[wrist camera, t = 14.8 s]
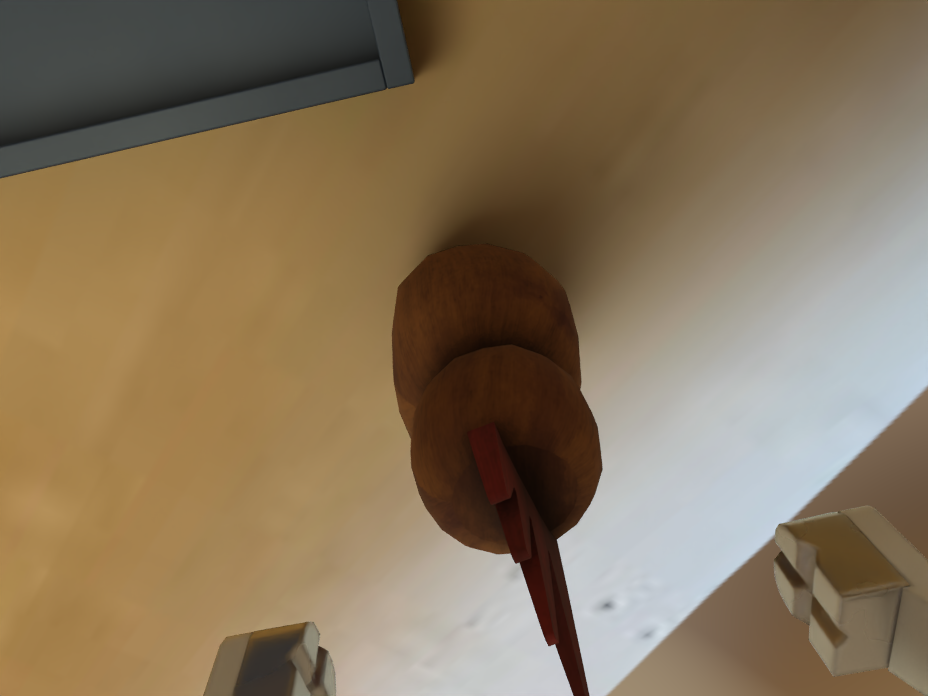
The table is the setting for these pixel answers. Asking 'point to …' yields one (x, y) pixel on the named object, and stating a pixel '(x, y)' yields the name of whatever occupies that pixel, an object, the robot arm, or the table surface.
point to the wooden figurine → (499, 416)
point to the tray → (179, 68)
